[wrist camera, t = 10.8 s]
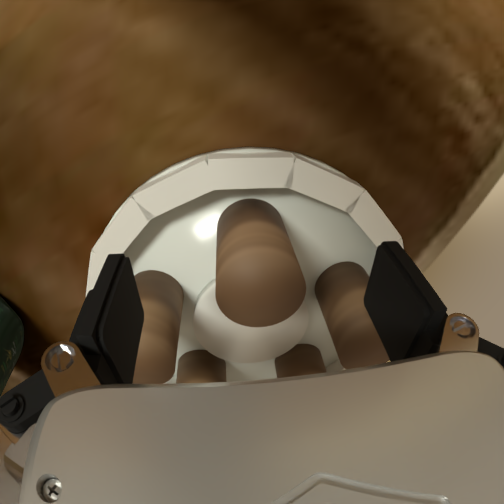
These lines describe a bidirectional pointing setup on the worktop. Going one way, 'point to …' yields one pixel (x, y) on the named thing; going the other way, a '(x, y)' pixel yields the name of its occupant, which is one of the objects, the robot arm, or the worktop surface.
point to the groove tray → (205, 237)
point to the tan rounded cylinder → (256, 266)
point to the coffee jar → (9, 341)
